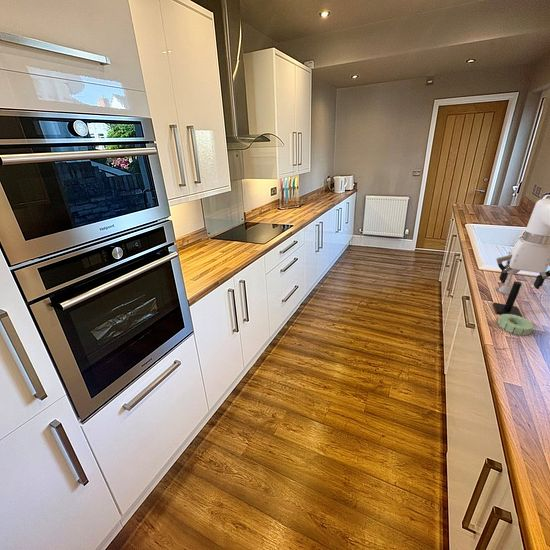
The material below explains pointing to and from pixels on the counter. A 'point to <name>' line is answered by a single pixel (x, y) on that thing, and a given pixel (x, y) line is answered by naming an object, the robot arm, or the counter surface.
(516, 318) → the ring
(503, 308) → the post
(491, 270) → the counter surface
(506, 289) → the chalice
